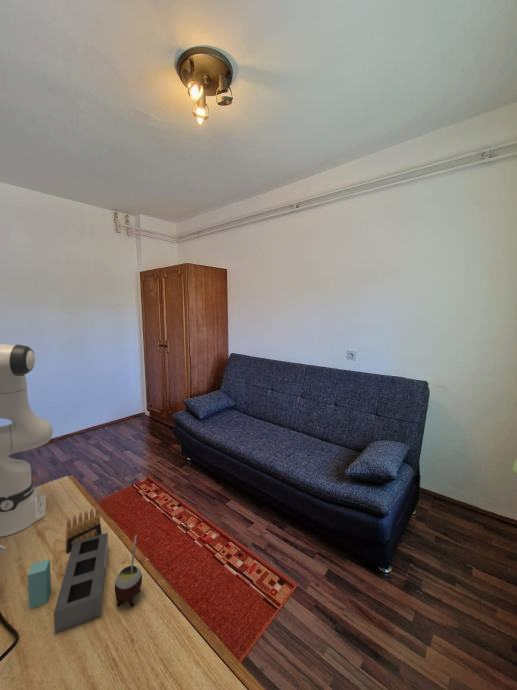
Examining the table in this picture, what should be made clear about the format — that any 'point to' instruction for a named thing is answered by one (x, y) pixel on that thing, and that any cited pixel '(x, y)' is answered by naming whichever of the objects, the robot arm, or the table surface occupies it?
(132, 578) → the mate gourd
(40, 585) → the square peg
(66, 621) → the block with square holes
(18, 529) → the robot arm
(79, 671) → the table surface
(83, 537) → the ammunition clip
